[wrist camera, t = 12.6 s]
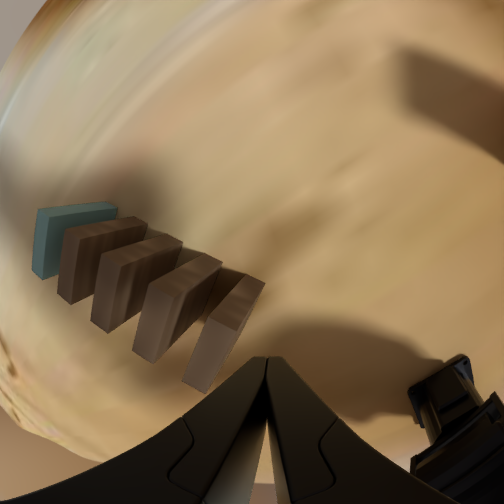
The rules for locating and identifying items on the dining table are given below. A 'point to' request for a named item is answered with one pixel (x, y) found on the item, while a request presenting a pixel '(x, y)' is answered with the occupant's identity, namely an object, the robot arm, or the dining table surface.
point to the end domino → (62, 232)
